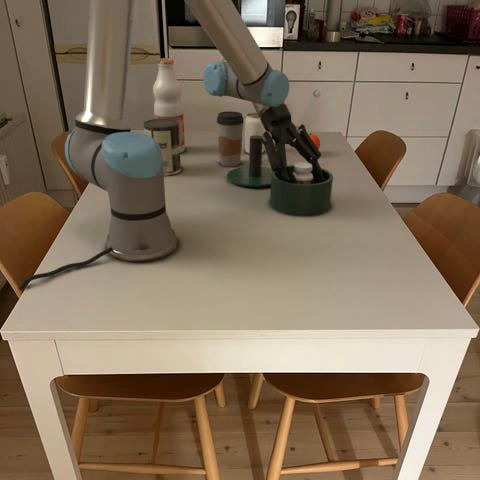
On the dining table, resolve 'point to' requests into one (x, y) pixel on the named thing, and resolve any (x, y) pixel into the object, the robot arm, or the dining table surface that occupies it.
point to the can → (253, 129)
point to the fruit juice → (168, 97)
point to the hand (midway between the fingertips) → (310, 189)
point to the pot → (300, 195)
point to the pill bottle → (303, 173)
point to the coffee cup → (230, 137)
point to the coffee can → (166, 142)
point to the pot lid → (252, 168)
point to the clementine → (315, 139)
